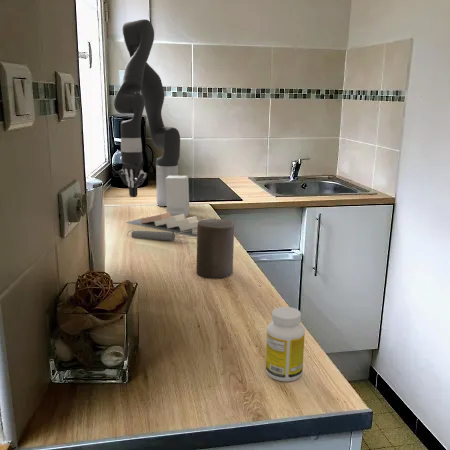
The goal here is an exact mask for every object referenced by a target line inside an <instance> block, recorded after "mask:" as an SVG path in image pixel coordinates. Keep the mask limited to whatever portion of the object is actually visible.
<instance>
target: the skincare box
mask: <svg viewBox="0 0 450 450" xmlns="http://www.w3.org/2000/svg"><path fill="white" fill-rule="evenodd" d="M165 181H166V205H167V207H166V213H168V212H170V215H171V217H173V216H177V215H181V214H184V216H185V218H188V216H189V214H190V194H189V193H190V191H189V189H190V188H189V186H190V185H189V175H178V176H168V177H167V178H165Z"/></svg>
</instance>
